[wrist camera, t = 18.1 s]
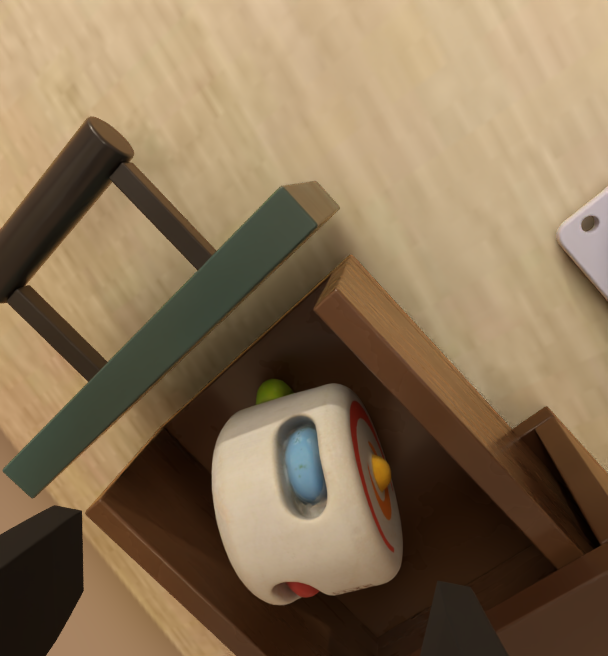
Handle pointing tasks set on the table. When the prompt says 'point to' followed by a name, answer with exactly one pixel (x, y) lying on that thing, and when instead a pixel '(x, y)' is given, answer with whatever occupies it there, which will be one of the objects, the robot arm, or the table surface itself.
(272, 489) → the roller toy
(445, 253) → the table surface
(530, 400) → the table surface
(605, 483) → the cabinet
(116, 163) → the drawer
